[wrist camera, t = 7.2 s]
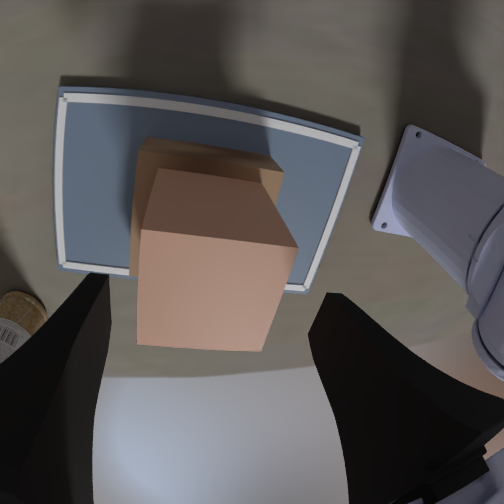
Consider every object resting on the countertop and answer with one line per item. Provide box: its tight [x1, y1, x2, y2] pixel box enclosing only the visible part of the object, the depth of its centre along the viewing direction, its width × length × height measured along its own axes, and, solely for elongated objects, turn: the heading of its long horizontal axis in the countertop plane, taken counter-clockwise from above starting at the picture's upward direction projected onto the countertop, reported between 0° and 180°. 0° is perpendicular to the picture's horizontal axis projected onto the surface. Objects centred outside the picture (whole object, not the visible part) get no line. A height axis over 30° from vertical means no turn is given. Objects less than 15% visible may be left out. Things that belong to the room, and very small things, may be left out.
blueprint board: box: [53, 86, 365, 294], centre depth 19 cm, size 18×12×1 cm, turn 76°
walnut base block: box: [129, 137, 285, 277], centre depth 17 cm, size 7×7×3 cm
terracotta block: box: [137, 168, 299, 351], centre depth 14 cm, size 5×5×6 cm
